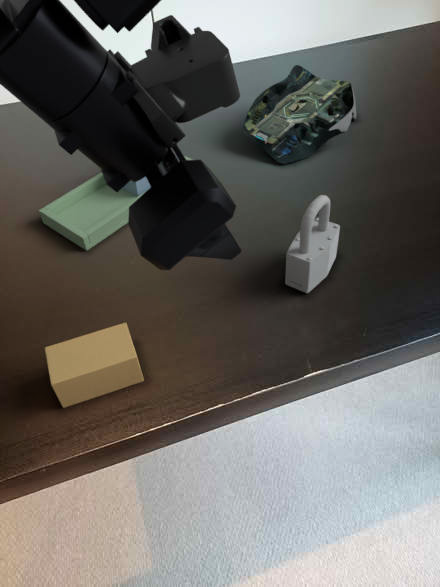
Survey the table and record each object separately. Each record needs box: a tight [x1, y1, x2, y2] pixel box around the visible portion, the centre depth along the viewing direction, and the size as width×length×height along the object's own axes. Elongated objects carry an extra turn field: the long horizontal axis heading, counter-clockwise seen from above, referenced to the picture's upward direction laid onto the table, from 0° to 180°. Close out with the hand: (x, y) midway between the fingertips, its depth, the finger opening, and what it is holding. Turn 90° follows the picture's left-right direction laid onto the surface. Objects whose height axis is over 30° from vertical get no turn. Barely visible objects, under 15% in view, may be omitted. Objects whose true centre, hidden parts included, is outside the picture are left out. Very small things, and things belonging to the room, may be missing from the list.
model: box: [242, 64, 357, 165], centre depth 79 cm, size 20×9×14 cm
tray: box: [38, 155, 194, 251], centre depth 72 cm, size 21×9×2 cm, turn 139°
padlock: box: [284, 194, 341, 294], centre depth 57 cm, size 7×4×10 cm, turn 145°
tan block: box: [44, 322, 145, 409], centre depth 51 cm, size 8×5×4 cm, turn 110°
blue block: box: [122, 177, 151, 197], centre depth 74 cm, size 8×5×4 cm, turn 139°
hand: (215, 219), depth 43 cm, fingers open, 9 cm apart
